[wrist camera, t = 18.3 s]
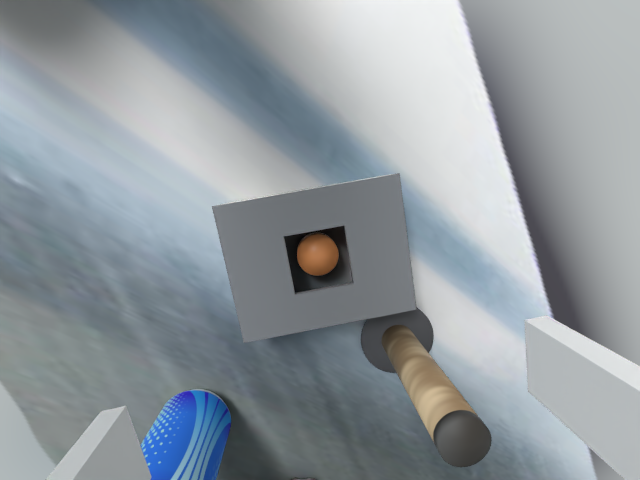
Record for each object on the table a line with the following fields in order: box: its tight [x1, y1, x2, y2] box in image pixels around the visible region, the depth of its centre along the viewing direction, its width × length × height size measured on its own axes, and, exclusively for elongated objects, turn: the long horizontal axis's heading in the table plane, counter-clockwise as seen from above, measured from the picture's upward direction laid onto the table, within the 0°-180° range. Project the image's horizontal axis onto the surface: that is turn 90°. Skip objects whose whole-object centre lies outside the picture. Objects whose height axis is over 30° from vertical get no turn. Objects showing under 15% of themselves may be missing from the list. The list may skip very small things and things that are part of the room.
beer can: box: [140, 389, 231, 480], centre depth 32 cm, size 8×8×16 cm
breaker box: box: [212, 174, 416, 343], centre depth 34 cm, size 18×14×6 cm
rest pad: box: [361, 308, 433, 373], centre depth 39 cm, size 9×9×1 cm
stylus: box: [382, 325, 491, 467], centre depth 31 cm, size 4×4×16 cm
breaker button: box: [297, 232, 339, 276], centre depth 34 cm, size 4×4×2 cm
